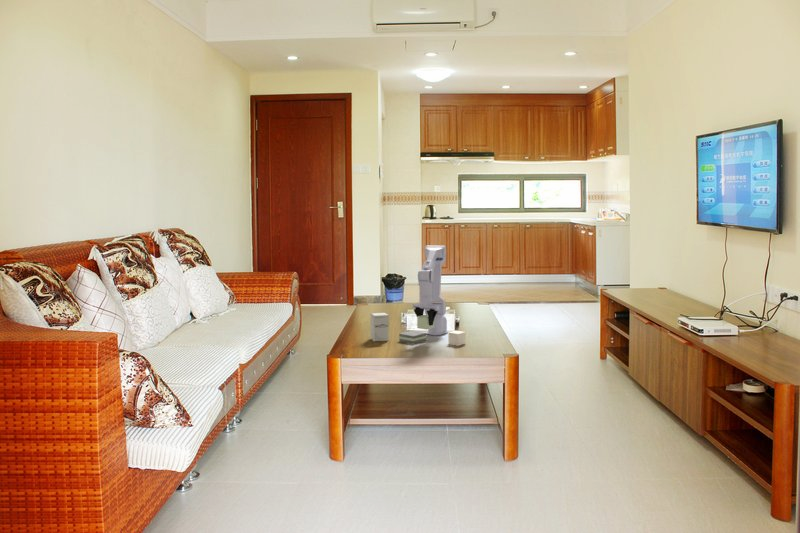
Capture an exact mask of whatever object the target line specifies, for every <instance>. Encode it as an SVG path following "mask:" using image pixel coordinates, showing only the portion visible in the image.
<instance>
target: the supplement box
mask: <svg viewBox="0 0 800 533" xmlns="http://www.w3.org/2000/svg"><path fill="white" fill-rule="evenodd" d="M389 316H390V315H389V314H388V313H386V312H376V313H375V312H373V313H370V340H371V341H373V342H374V343H376V342H386V341H387V342H388V341H389V340H390V339H389V336H390V335H389V332H390V330H389V325H390V324H389V323H390V322H389V319H390V318H389Z"/></svg>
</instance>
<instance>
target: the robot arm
mask: <svg viewBox="0 0 800 533" xmlns="http://www.w3.org/2000/svg"><path fill="white" fill-rule="evenodd" d="M424 247H425V248H424V256H425V258H426V260H425V261H424V262H423V264H422V267H421V269H419V270H418V272H417V280H418V282H417V283H418V287H419V288H418V289H419V294H418V295H419V303H417V302H414V303H412V305H411V306H412V309H413V312H414V314H415V315H416V317H417V316H421V315H428V318H429V325H430V326H431V325H433V322H434V328H431V329H427V331H426V332H424V333H426V335H432V336H435V337H436V336H440V335H444V334H449V331H447V330H448V325H447V323H448V320H447V318H446V316H445V315H446V312H447V305H446V303H447V302H446V300H445V299H444V298H443V296H441V290H442V289H441V288H442V286H441V285H442V284H441V283H442V267H443V264H444V263H446V260H447V246H446V245H429V244H427V245H425V246H424ZM424 313H425V314H424Z"/></svg>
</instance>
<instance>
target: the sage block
mask: <svg viewBox="0 0 800 533" xmlns="http://www.w3.org/2000/svg"><path fill="white" fill-rule="evenodd" d="M416 321H417V322H416V323H417V324H416V326H417V327H416V328H417V329H420V330H427V331H428V329H431V328H434V322H433V325H431V326H430V325H429V318H428V315H426V314H423V315H421V316H416Z"/></svg>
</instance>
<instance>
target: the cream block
mask: <svg viewBox="0 0 800 533" xmlns="http://www.w3.org/2000/svg"><path fill="white" fill-rule="evenodd" d="M462 344H463V345H466V331H461V330H453V331H448V345H453V346H457V347H458V346H461V345H462Z"/></svg>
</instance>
